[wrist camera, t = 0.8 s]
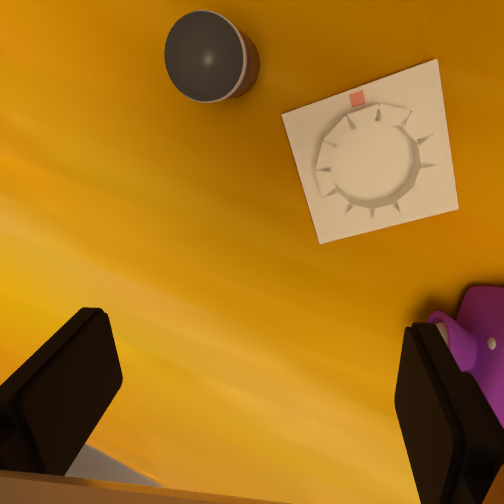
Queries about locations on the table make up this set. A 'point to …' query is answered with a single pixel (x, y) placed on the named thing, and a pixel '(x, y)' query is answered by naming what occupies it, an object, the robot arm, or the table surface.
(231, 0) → the table surface
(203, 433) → the table surface
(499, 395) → the toy camera
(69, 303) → the table surface
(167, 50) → the lens
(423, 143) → the lens mount
